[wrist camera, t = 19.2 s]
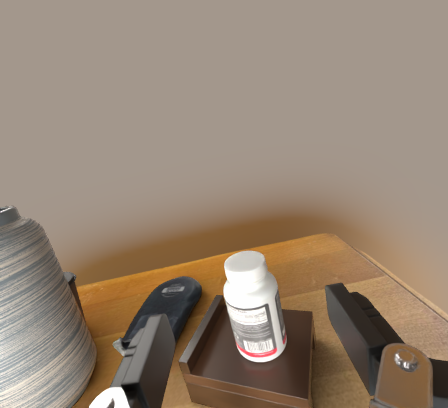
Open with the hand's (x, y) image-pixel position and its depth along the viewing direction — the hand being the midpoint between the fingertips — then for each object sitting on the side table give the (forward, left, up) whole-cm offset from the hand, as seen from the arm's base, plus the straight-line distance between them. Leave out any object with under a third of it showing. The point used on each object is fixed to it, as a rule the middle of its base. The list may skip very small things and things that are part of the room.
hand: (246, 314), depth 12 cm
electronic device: (+21, -16, -17) cm, 31 cm away
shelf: (+5, -10, -17) cm, 20 cm away
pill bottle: (+4, -10, -13) cm, 17 cm away
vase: (+29, -2, -17) cm, 33 cm away
